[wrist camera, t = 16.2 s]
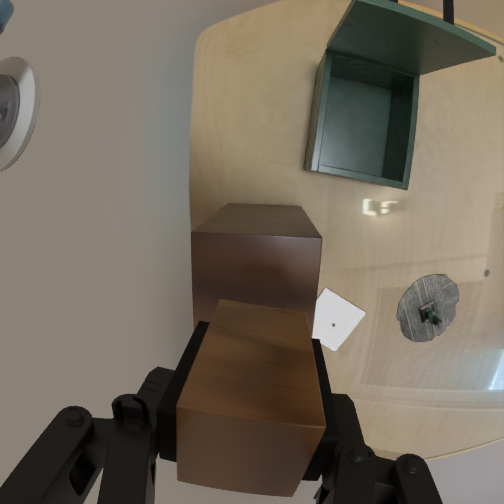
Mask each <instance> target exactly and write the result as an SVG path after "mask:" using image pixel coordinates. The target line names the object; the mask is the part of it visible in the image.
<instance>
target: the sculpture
mask: <svg viewBox="0 0 504 504" xmlns="http://www.w3.org/2000/svg"><path fill="white" fill-rule="evenodd" d="M458 301H459V292H458V288H457V285H456V284H455V283H454V282H453V281H452V280H451V279H449V278H448V277H447V276H446V275H438V274H435V275H431V276H425V277H422V278H421V279H419V280H417V281H416V282H415V283H414V284H413V285H412V286H411V287H410V288H409V289H408V290H407V292H406V293H405V294H404V296H403V297H402V299H401V301H400V303H399V307H398V314H397V318H398V320H399V321H401V329H402V332H403V333H404V336H405V337H407V338H408V339H410V340H411V341H413V342H425V341H430V340H432V339H433V338H435V337H436V336H439V335H441V334H442V333H443V332H444V331H445V330H446V329H447V327H448V326H449V325H450V324H451V322H452V321H453V319H454V317H455V313H456V311H455V305H456V304H457V302H458Z"/></svg>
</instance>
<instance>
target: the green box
mask: <svg viewBox="0 0 504 504" xmlns="http://www.w3.org/2000/svg"><path fill="white" fill-rule="evenodd" d="M419 77H420V75H419V74H416V73H413V72H410V71H407V70H404V69H401V68H398V67H394V66H391V65H388V64H384V63H381V62H377V61H373V60H370V59H366V58H362V57H358V56H354V55H349V54H345V53H340V52H336V51H331V50H327V48H326V50H325V52H324V55H323V57H322V59H321V62H320V64H319V66H318V69H317V73H316V81H315V89H314V97H313V105H312V113H311V120H310V128H309V135H308V142H307V149H306V156H305V163H304V170H305V171H311V172H317V173H323V174H328V175H334V176H339V177H344V178H349V179H354V180H359V181H364V182H369V183H373V184H378V185H382V186H388V187H393V188H398V189H403V190H408V184H409V178H410V172H411V165H412V157H413V150H414V141H415V132H416V122H417V110H418V96H419Z"/></svg>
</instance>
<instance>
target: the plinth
mask: <svg viewBox="0 0 504 504" xmlns="http://www.w3.org/2000/svg"><path fill="white" fill-rule="evenodd" d="M321 250H322V237H321V235H320V234H319V232H318V231H317V229H316V228H315V226H314V225H313V223H312V222H311V220H310V219H309V217H308V216H307V214H306V213H305V211H304V210H303V208H302V207H299V206H280V205H257V204H227V205H226V206H225V207H223V208H222V209H221V210H219V211H218V212H217V213H215V214H214V215H213V216H211V217H210V218H209V219H207V220H206V221H205V222H204V223H202V224H201V225H200V226H198V227H197V228H196V229H194V230H193V231H192V232H191V261H192V292H193V293H192V294H193V318H194V330H195V328H196V326H197V324H198V322H199V320H200V321H205V322H210V321H211V319H212V316H213V314H214V311H215V309H216V306H217V304H218V302H219V299H225V300H230V301H236V302H242V303H248V304H255V305H261V306H267V307H274V308H280V309H287V310H294V311H301V312H306V315H307V320H308V325H309V331H310V336H311V338H312V333H313V325H314V317H315V309H316V300H317V291H318V281H319V271H320V261H321Z"/></svg>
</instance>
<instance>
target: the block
mask: <svg viewBox="0 0 504 504" xmlns="http://www.w3.org/2000/svg"><path fill="white" fill-rule="evenodd" d="M325 429H326V422H325V416H324V410H323V404H322V398H321V392H320V386H319V380H318V374H317V369H316V363H315V358H314V352H313V347H312V341H311V336H310V331H309V325H308V320H307V315H306V312H301V311H294V310H287V309H280V308H274V307H267V306H261V305H255V304H248V303H242V302H236V301H230V300H225V299H219V302H218V304H217V306H216V309H215V311H214V314H213V316H212V319H211V321H210V323H209V326H208V328H207V331H206V333H205V336H204V338H203V340H202V343H201V345H200V348H199V350H198V353H197V355H196V358H195V360H194V363H193V365H192V367H191V370H190V372H189V375H188V377H187V380H186V382H185V385H184V387H183V390H182V392H181V395H180V397H179V400H178V402H177V405H176V457H177V480H178V481H182V482H186V483H191V484H195V485H200V486H205V487H210V488H216V489H222V490H228V491H236V492H243V493H250V494H260V495H270V496H283V497H292V496H293V495H294V493H295V491H296V489H297V487H298V485H299V484H300V482H301V480H302V478H303V476H304V474H305V472H306V470H307V468H308V466H309V464H310V462H311V459H312V457H313V455H314V453H315V451H316V449H317V447H318V445H319V442H320V440H321V438H322V436H323V433H324V431H325Z"/></svg>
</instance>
